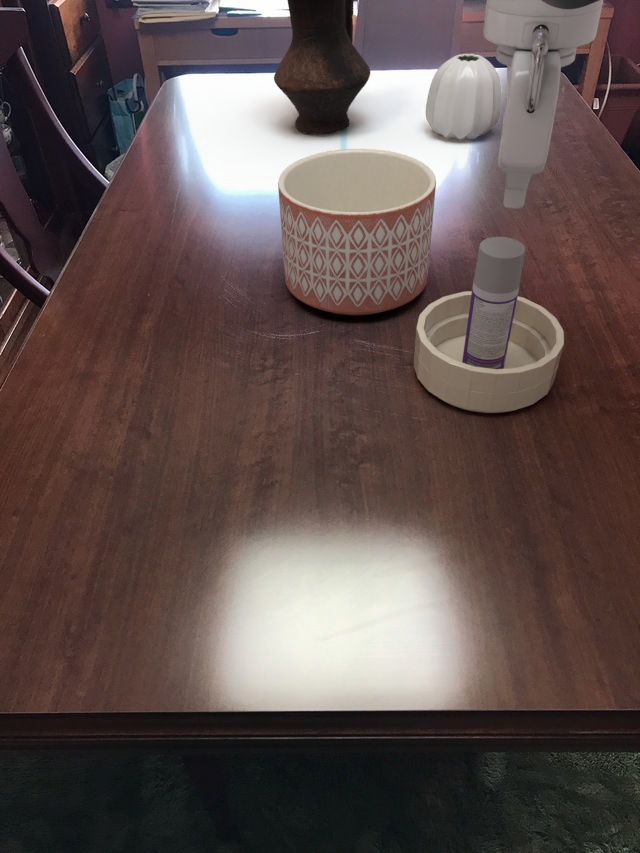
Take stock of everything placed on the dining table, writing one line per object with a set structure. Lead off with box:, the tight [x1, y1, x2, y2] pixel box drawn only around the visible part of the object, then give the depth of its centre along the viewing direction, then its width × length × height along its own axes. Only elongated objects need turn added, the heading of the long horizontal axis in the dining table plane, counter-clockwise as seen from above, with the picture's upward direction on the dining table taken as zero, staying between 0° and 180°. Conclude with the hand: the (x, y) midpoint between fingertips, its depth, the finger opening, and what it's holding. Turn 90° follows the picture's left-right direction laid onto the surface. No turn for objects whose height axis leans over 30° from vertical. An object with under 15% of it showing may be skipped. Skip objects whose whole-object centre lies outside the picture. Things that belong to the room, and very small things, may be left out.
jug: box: [273, 0, 371, 135], centre depth 129 cm, size 21×18×30 cm
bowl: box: [413, 290, 565, 414], centre depth 77 cm, size 16×16×6 cm
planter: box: [277, 148, 437, 317], centre depth 89 cm, size 19×19×15 cm
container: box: [462, 236, 526, 369], centre depth 73 cm, size 5×5×15 cm
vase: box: [425, 53, 502, 141], centre depth 129 cm, size 14×14×13 cm
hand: (514, 183), depth 64 cm, fingers open, 8 cm apart
